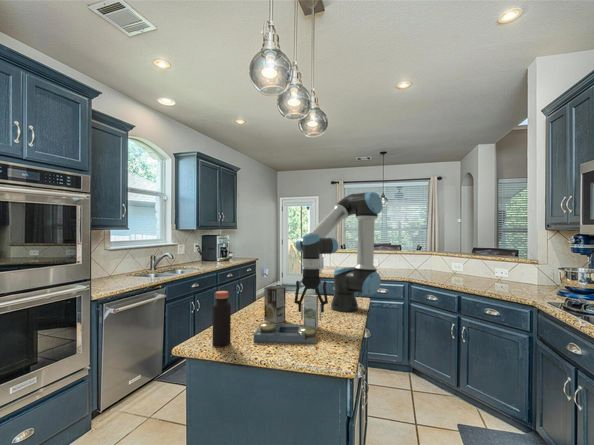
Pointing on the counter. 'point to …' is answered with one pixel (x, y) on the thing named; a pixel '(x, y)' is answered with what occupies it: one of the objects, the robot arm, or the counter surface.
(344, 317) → the counter surface
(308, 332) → the grey base plate
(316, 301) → the syrup box
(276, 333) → the knobbed grey frame
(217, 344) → the bottle
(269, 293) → the coffee box
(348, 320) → the counter surface
